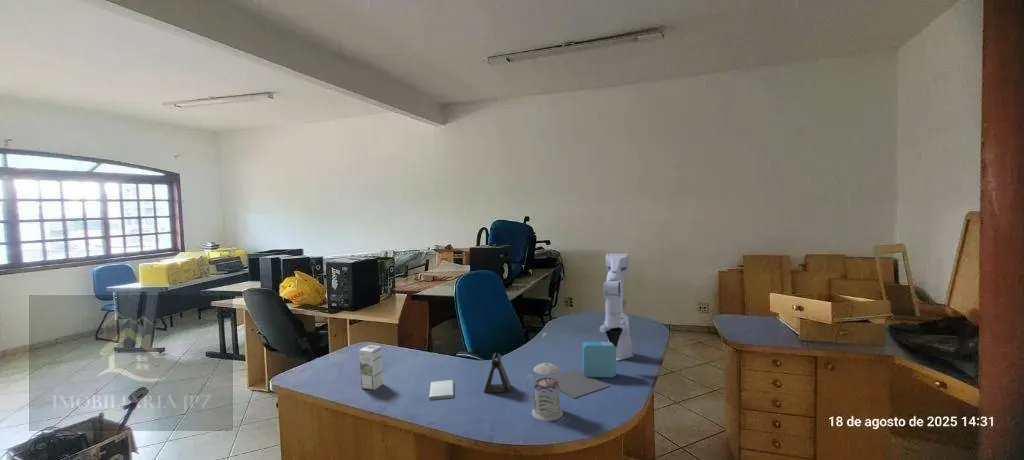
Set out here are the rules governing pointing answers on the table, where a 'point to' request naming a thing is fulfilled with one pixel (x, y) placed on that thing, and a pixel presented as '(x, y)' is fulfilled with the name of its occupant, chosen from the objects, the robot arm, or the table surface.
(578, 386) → the mat
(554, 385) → the french press
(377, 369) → the syrup box
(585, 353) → the data package
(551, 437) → the table surface
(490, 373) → the phone stand
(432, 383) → the hard drive
